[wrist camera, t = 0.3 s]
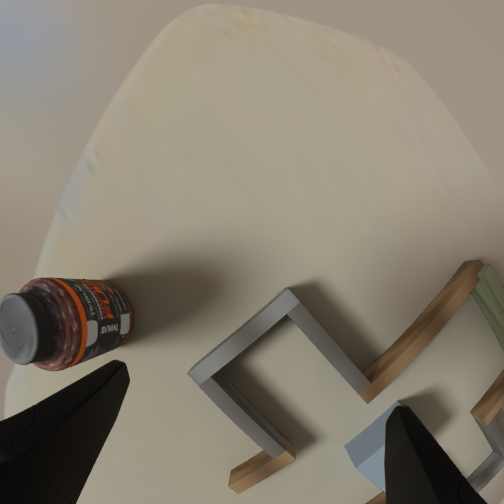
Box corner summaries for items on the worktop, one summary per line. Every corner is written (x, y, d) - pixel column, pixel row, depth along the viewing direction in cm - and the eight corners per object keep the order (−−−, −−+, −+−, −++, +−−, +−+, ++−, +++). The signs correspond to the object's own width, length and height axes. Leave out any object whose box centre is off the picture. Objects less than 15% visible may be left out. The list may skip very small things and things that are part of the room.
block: (372, 470, 22) (385, 493, 18) (343, 445, 22) (355, 467, 18) (420, 429, 22) (440, 446, 18) (396, 400, 22) (415, 417, 18)
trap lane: (366, 558, 20) (372, 575, 16) (154, 396, 23) (139, 411, 19) (535, 404, 21) (551, 411, 17) (402, 178, 24) (419, 165, 20)
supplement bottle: (148, 306, 24) (67, 322, 12) (117, 362, 23) (35, 405, 12) (95, 266, 24) (2, 254, 13) (68, 321, 24) (-23, 337, 12)
